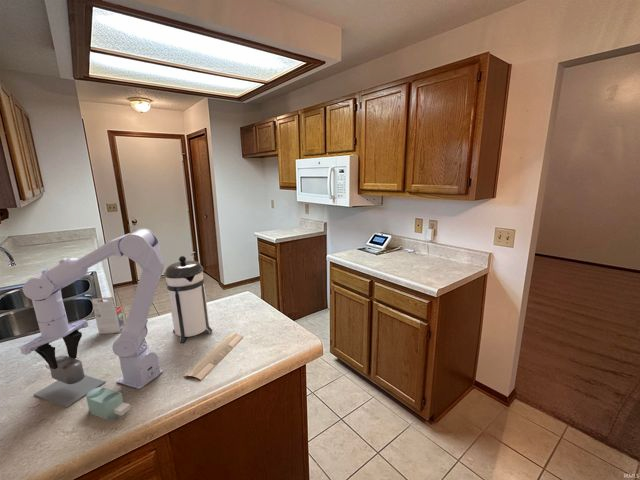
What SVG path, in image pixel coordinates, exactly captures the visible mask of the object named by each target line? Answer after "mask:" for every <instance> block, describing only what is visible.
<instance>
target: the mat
mask: <svg viewBox="0 0 640 480" xmlns="http://www.w3.org/2000/svg"><path fill="white" fill-rule="evenodd" d="M84 375H85V377H84V378H83V379H82V380H81V381H79V382H77V383H74V384H66V383H64V382H61V381H58V380H56V381H55V382H53V383H51V384H49V385H47V386H45V387H44V388H42V389H40V390H39V391H37V392H35V393H33V396H34V397H36V398H39V399H42V400H45V401H47V402H50V403H51V404H52V403H53V404H55V405H58V406H60V407H62V408H66V409H67V408H69V407H70V406H72V405H73V404H75V403H77V402H79V401H80V400H81V399H83V398H84V397H86V395H87V393H88V392H89V391H91V390H93V389H95V388H98V387H102V385H104V384H106V381H105V380H102V379H98V378H95V377H92V376H90V375H86V374H84Z"/></svg>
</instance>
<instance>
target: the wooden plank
mask: <svg viewBox="0 0 640 480" xmlns="http://www.w3.org/2000/svg"><path fill="white" fill-rule="evenodd" d="M243 338H244V336H243V335H241V334H239V333H228V334H227V335H226V336H225V337H224V338H223V339H222V340H221V341H220V342H219V343H218V344H216V346H214V347H213V348H212V349H211V350H210V351H208V353H207V354H206V355H204V356H203V357H202V358H201V359H200V360H199V361H198V362H197V363H196V364H195V365H194V366H193V367H191V369H190V370H188V371H187V372H186V373H185V374H184V375H183V378H186V377H188V376H189V377H194V378H197V379H199V380H200V381H202V380H204V378H205V377H206V376H207V375H208V374H209V373H210V372H211V371H212V370H213V369H214V368H215V367H216V366H217V365H218V364H219V363H220V362H221V361H222V360H223V359H224V358H225V356H226V355H228V353H229V352H230V351H232V349H233V348H234V347H236V346H237V344H238V343H239V342H240V341H241V340H242V339H243Z"/></svg>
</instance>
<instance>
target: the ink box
mask: <svg viewBox="0 0 640 480" xmlns="http://www.w3.org/2000/svg"><path fill="white" fill-rule="evenodd" d="M102 300H103V301H102ZM91 302H92V306H93V313H94V318H95V321H96V326H97V330H98V334H99V335H105V334H107V335H108V334H117V333H118V334H119V333H121V331H122V329H123V327H124V325H125V321H124V316H123V311H122V306H121V305H115V299H114V297H113V296H112V297H97V298H91Z"/></svg>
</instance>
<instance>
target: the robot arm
mask: <svg viewBox="0 0 640 480" xmlns="http://www.w3.org/2000/svg"><path fill="white" fill-rule="evenodd" d="M112 256H116V257H120V258H121V257H123V256H125V257H127V258H129V259H130V260H131V261H133V262H135V263H136V264H137V265H138V266H139V267H140V268H141V269H142V271H141V274H140V278H139V280H138V284H137V286H136V289H135V293H134V295H133V299H132V301H131V306H130V310H129V312H128V315H127V318H126V322H124V327H123V329H122V331H121V332H120V335H119V336H118V337H117V338H116V340H114V342H113V343H112V351H113V353H114V354H115V356H118V358H119V363H120V368H121V372H122V376H121V377H119V378H117V379H116V383H119V384H121V385H125V386H128V387H131V388H133V389H138V390H140V389H142V388H143V387H145V386H146V385H147V384H149V383H150V382H151V381H153V380H154V379H156V378H157V377H158V376H159V375H160V374H162V373H163V372H164V371H163V370H162V369H160V365H159V358H158V355H157V353H156V352H154V351H152V350H151V349H150V348H149V346H148V343H147V341H146V339H145V338H146V336H147V335H148V331H149V330H148V327H147V325H148V321H149V320H148V317H149V313H150V311H151V307H152V305H153V301H154V298H155V296H156V293H157V289H158V286H159V283H160V280H161V276H162V274H163V270H164V268H165V260H164V256H163V253H162V250H161V245H160V239H159V238H158V237H157V236H156V235H155V234H154V232H152V230H150V229H147V228H138V229H136V230H134V231H133V232H132V233H131V232H129V233H126V234H123V235H121V236H118V237H116V238H114V239H111V240H110V241H108V242H106V243H104V244H102V245H101V246H99V247H97V248H96V249H94V250H93V251H91V252H89V253H87V254H85V255H84V256H83V257H81V258H79V257H69V258H67V257H65V258H62V259H61V260H59V261H58V264H57V265H54V266H52V267H51V268H45V269H43V270H41V273H40V274H38V275H36V276H34V277H31V278H29V279H28V280H27V281H25V283H24V284H23V285H22V292H23V295H24V296H25V297H26V298H28V299H29V300H31V303H32V306H33V310H34V313H35V317H36V321H37V324H38V328H39V331H40V335H39V336H37V337H35V338H34V339H32V340H30V341H29V342H27V343H25V344H23V345H20V346H19V349H20V353H21V354H23V355H26V356H28V355H30V354H31V353H32V352H33V351H34V352H35V353H37V354H38V355H39V356H40V357H42V358H43V359H44V361H45V362H46V363H48V365H49V366H50V368H52V369H56V368H58V365H57V361H56V358H55V357H56V347H55V346H52V344H50V343H53V342H55V341H58V340H61V339H62V340H63V342H64V344H65V346H66V347H65V348H66V351H67V356H68V357H71V358H74V359H77V355H78V348H79V344H80V340H81V338H82V337H83V333H82V332H81V331H80V330H82V329H85V328H88V327H89V322H88V320H86V319H80V320H78V321H75V322H73V323H69V320H68V316H67V313H66V308H65V304H64V301H63V296H62V289H63V288H65V287H67V286H69V285H71V284H74V283H75V282H76V281H78V280H80V279H82V278H83V277H85V276H87V274H88V271H89V268H91V267H93V266H94V265H97V264H99V263H100V262H102V261H105V260H107V259H109V258H110V257H112Z"/></svg>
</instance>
